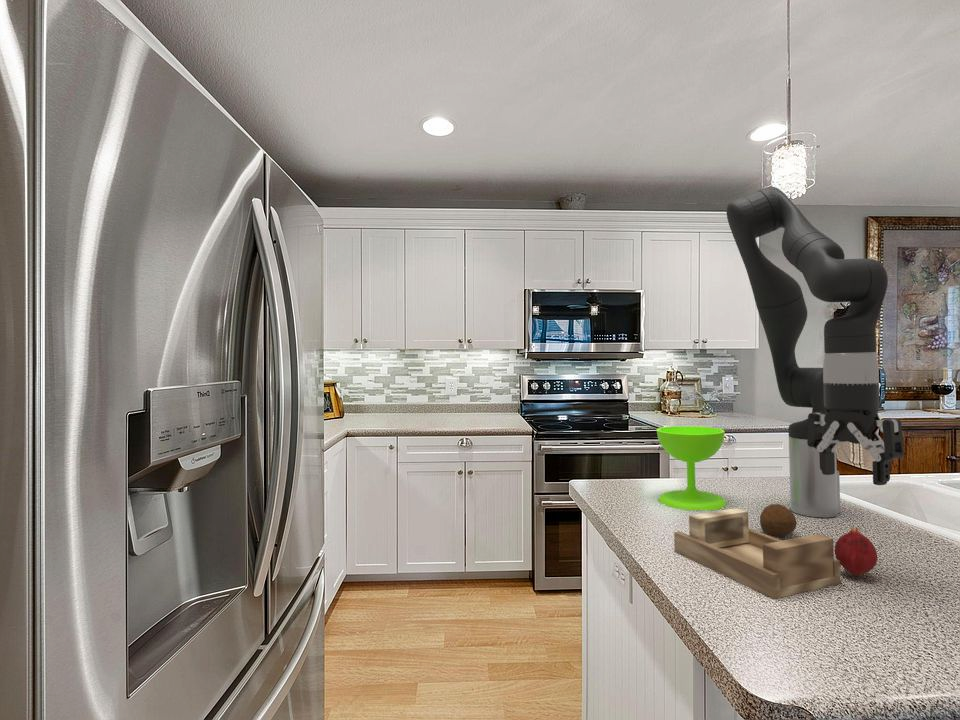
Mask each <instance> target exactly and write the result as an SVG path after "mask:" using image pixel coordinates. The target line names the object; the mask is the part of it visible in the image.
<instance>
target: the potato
mask: <svg viewBox="0 0 960 720" xmlns="http://www.w3.org/2000/svg"><path fill="white" fill-rule="evenodd" d="M759 525H760V527H761V530H762V531H763V534H766V535H769V536H771V537H774V538H779V537H787V536H789V535H790V534H792V533H793V532H794V531H795V529H796V527H797V525H798V521H797V518H796V516H795V514H794V512H793V511H791V509H789V508H788V507H787V506H785V505H783V504H779V503H776V504H775V503H774V504H772V503H771V504H769V505H768V506H766V507H764V508H763V510H762V512H761V513H760V516H759Z"/></svg>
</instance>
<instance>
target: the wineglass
mask: <svg viewBox="0 0 960 720" xmlns="http://www.w3.org/2000/svg"><path fill="white" fill-rule="evenodd" d="M725 433H726V432H725V430H724V429H721V428H716V427H711V426H710V427H708V426H695V425H693V426H692V425H691V426H689V425H685V426H684V425H683V426H682V425H680V426H679V425H678V426H676V425H675V426H665V427H659V428H657V429H656V434H657V439H658V441H659V444H660V446H661V447H662V448H663V449H664V451H665V452H666V453H667V455H670V456H671V457H673V458H674V459H676V460H678V461H681V462H684V463H686V481H687V482H686V483H687V484H686V485H687V487H686V488H685V489H683V490H671V491H667V492H666V491H665V492H664V493H662V494H661V495H660V496H659V497H658V502H659V501H660V502H661V503H660V502H659V503H660V504H662V503H663V504H665V505H664V506H666V505H667V506H666V507H669V506H670V507H669V508H673V507H674V508H673V509H677V508H679V510H684V509H685V510H686V511H695V510H707V511H714V510H715V509H717V510H720V508H721V509H723V508H722V507H724V506H725V507H727V505H726V504H727V501H726V500H725V498H723V497H722V496H719V495H717V494H714V493H712V492H707V491H701V490H698V489H697V487H696V464H695V463H699V462H703V461H707V460H708V459H710V458H711V457H713V456H715V454H717V453H718V451H719V450H720V449H721V446H722V445H723V442H724V439H725ZM663 504H662V505H663ZM725 507H724V508H725ZM715 511H716V510H715Z"/></svg>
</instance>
